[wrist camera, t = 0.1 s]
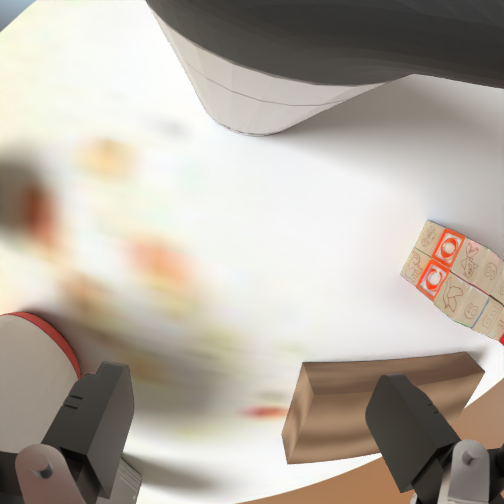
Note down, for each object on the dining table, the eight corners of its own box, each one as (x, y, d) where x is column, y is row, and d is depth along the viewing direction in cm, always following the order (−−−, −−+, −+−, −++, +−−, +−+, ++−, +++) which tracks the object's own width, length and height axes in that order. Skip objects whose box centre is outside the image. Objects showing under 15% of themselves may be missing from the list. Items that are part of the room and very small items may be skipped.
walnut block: (302, 362, 29) (314, 395, 24) (465, 351, 32) (485, 371, 27) (281, 433, 33) (287, 464, 28) (430, 414, 35) (445, 435, 30)
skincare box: (143, 476, 35) (130, 557, 20) (110, 476, 35) (93, 550, 20) (111, 447, 32) (87, 536, 17) (78, 448, 33) (51, 527, 18)
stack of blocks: (397, 275, 27) (475, 340, 15) (425, 218, 26) (518, 258, 14) (492, 325, 31) (545, 370, 19) (512, 286, 30) (571, 324, 18)
